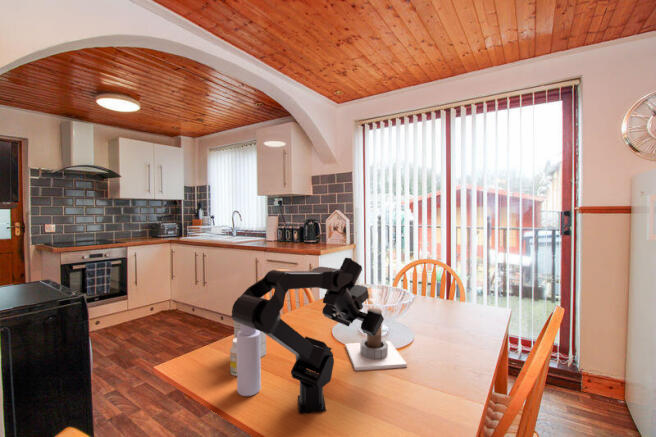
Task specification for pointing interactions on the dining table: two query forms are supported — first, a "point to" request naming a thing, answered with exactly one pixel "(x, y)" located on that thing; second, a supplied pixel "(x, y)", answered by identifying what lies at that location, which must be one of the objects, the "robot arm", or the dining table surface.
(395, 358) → the socket base plate
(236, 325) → the supplement box
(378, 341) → the walnut shaft
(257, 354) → the spray bottle
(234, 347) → the supplement bottle
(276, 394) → the dining table surface
